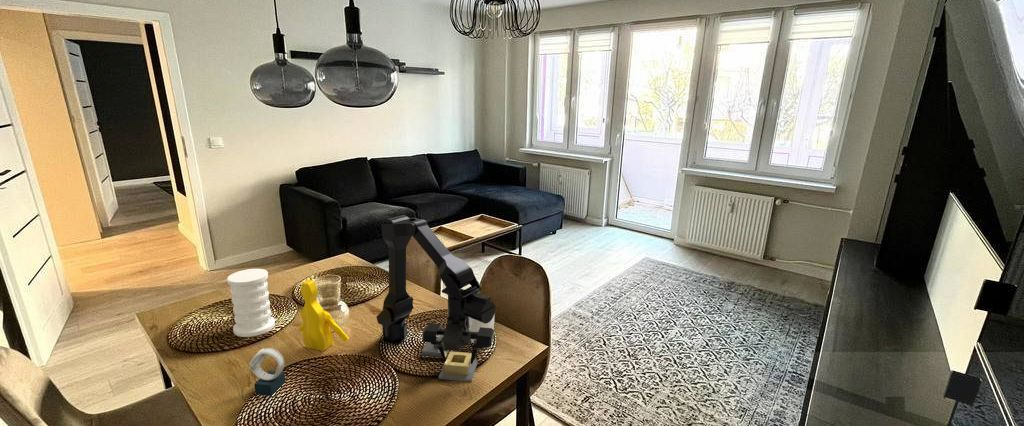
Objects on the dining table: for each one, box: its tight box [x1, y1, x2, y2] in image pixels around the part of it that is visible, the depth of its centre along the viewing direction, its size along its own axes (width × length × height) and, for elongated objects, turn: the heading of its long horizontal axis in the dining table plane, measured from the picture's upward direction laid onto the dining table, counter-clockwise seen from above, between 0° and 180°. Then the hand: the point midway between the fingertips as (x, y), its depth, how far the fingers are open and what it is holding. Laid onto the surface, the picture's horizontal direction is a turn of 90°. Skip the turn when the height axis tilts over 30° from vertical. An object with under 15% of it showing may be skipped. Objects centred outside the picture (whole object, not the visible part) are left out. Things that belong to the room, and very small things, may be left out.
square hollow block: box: [443, 350, 472, 376], centre depth 120 cm, size 6×6×3 cm
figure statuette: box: [298, 278, 350, 352], centre depth 127 cm, size 18×8×22 cm, turn 73°
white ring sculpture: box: [248, 347, 286, 397], centre depth 110 cm, size 6×8×11 cm
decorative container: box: [226, 268, 276, 338], centre depth 137 cm, size 12×12×18 cm
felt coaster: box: [438, 359, 479, 383], centre depth 121 cm, size 9×9×1 cm
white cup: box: [469, 313, 496, 344], centre depth 135 cm, size 8×8×10 cm
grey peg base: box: [421, 342, 450, 358], centre depth 129 cm, size 7×7×6 cm
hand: (458, 362), depth 120 cm, fingers open, 7 cm apart
